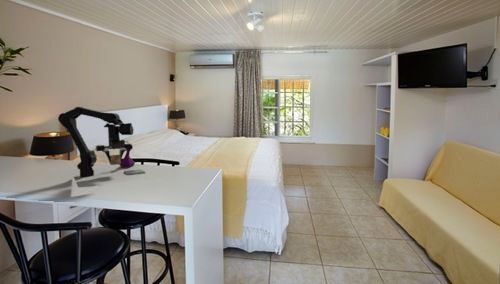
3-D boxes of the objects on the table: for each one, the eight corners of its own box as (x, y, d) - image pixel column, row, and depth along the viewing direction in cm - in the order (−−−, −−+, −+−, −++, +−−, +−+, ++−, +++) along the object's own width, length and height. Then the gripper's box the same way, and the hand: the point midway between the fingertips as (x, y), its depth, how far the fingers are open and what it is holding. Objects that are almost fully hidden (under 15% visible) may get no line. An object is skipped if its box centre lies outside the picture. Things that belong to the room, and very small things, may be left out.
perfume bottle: (135, 167, 197) (134, 140, 196) (129, 169, 190) (128, 141, 188) (124, 167, 198) (123, 140, 196) (118, 169, 191) (117, 141, 189)
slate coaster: (127, 175, 171) (127, 173, 171) (123, 172, 180) (123, 171, 180) (145, 173, 177) (145, 171, 177) (140, 170, 185) (140, 169, 185)
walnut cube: (111, 165, 166) (110, 156, 166) (109, 163, 171) (109, 155, 170) (120, 164, 169) (120, 155, 169) (119, 163, 173) (118, 154, 173)
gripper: (97, 136, 157) (99, 165, 158) (134, 135, 167) (135, 162, 169) (94, 135, 166) (96, 163, 167) (129, 134, 176) (130, 160, 178)
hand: (115, 162), depth 170 cm, fingers closed on walnut cube, 5 cm apart
